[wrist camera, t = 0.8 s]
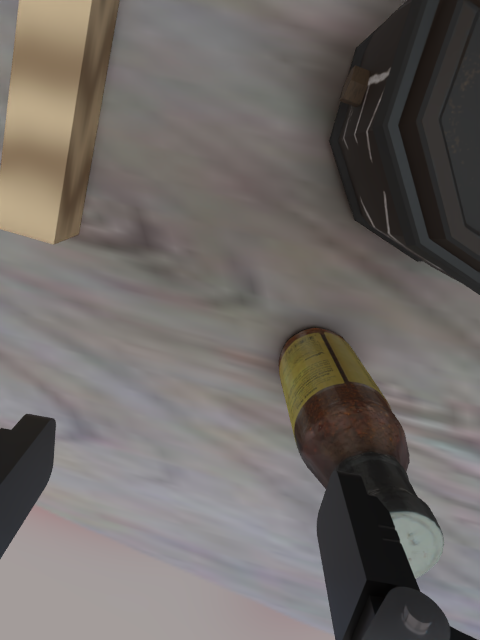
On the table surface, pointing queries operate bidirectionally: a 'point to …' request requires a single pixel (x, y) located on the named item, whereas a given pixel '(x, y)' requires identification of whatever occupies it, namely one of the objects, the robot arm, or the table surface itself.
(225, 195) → the table surface
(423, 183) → the black chalkboard bucket
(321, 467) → the sauce bottle
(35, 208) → the oak bar
